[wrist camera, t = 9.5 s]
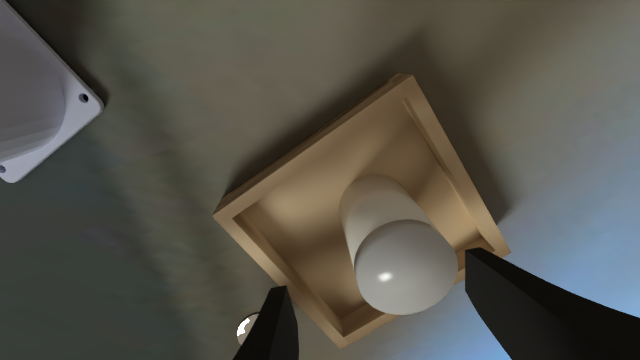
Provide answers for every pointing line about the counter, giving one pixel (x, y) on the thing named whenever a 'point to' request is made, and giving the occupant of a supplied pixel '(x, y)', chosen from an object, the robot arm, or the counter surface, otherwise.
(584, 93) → the counter surface
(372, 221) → the shaker
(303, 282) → the tray
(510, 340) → the robot arm
